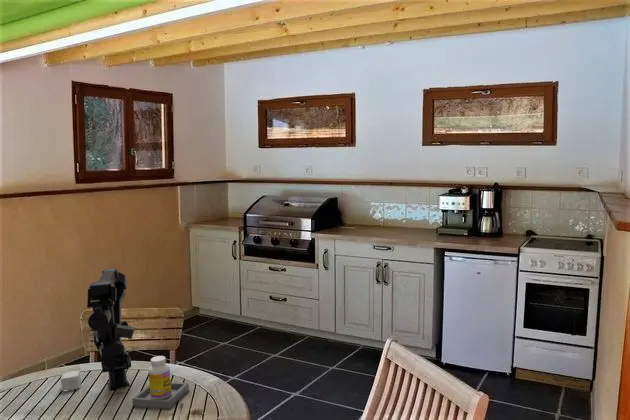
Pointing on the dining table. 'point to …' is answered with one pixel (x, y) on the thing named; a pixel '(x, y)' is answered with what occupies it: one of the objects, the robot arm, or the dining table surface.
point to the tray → (146, 401)
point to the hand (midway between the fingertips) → (109, 367)
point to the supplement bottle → (159, 378)
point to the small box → (71, 380)
